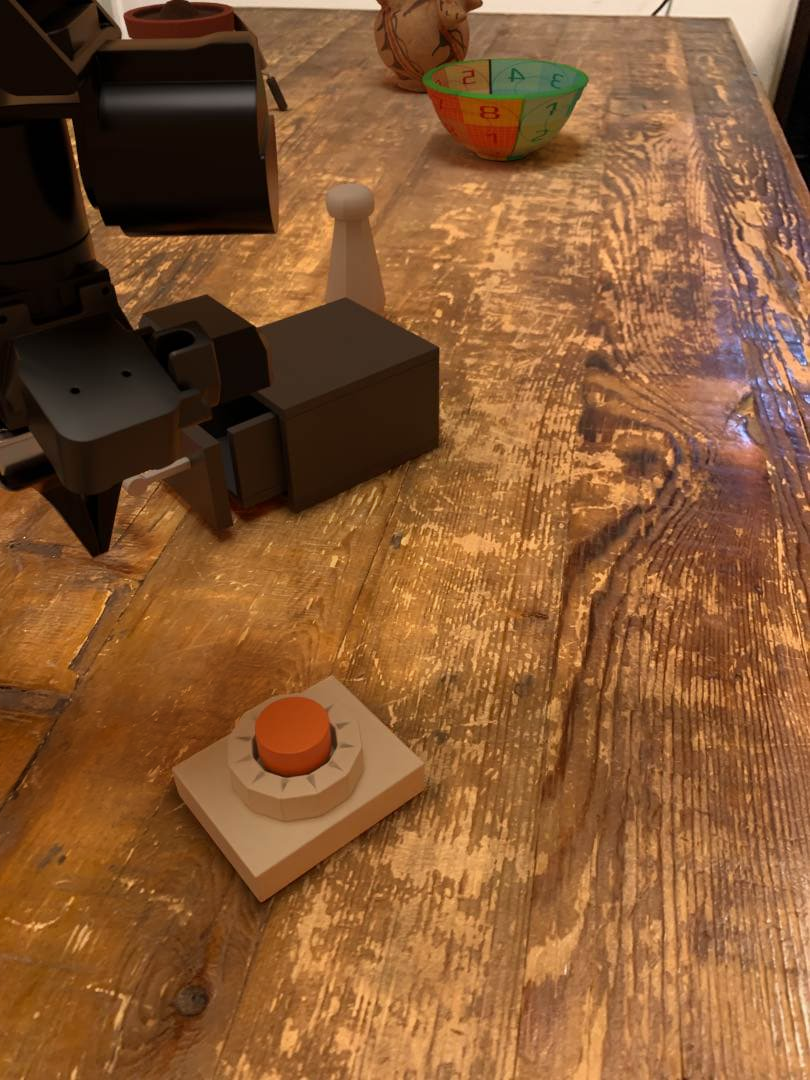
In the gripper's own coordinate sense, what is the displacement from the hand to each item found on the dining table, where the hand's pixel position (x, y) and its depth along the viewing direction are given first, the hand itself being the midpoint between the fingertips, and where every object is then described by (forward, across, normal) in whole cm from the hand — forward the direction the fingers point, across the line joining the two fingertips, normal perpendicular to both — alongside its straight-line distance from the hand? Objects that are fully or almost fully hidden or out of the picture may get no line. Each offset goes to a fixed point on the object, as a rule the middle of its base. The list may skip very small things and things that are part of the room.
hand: (96, 551), depth 46 cm
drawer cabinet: (+12, +24, +16) cm, 31 cm away
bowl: (+11, +86, +63) cm, 107 cm away
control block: (+12, +4, -10) cm, 16 cm away
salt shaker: (+12, +38, +32) cm, 51 cm away
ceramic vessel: (+12, +103, +99) cm, 143 cm away
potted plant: (+12, +63, +102) cm, 121 cm away
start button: (+8, +4, -10) cm, 14 cm away
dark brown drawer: (+11, +15, +16) cm, 24 cm away
